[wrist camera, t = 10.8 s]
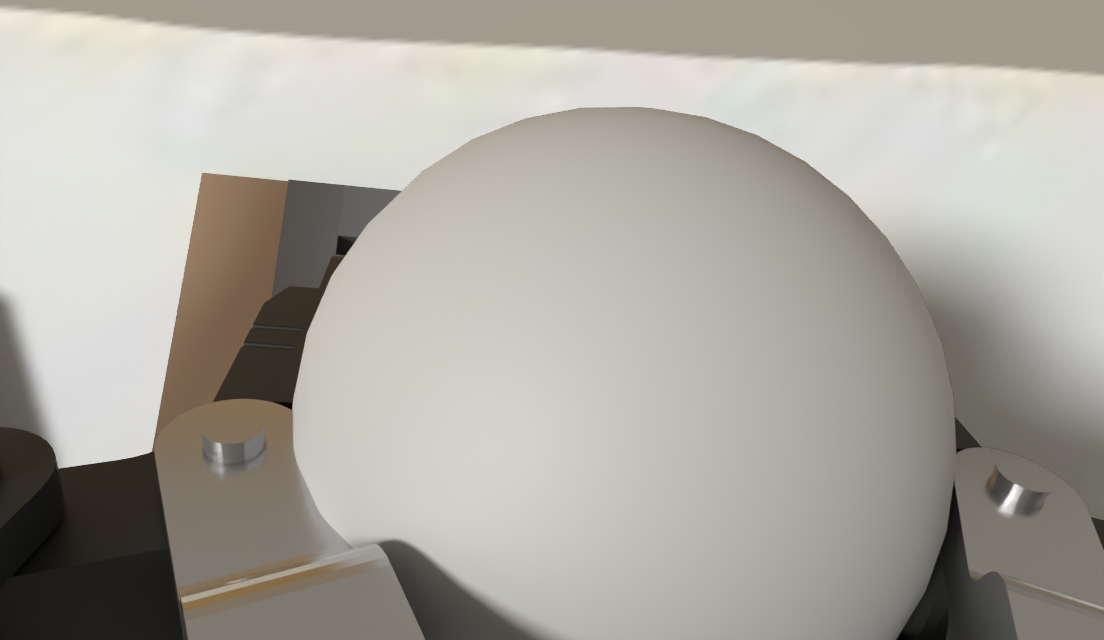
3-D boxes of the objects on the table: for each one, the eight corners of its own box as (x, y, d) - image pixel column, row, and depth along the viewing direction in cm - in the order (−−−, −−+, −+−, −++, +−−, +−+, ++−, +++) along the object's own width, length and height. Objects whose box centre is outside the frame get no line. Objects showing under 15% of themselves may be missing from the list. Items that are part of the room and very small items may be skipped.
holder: (815, 248, 22) (934, 156, 17) (846, 822, 18) (1013, 933, 13) (212, 190, 20) (136, 65, 15) (102, 822, 16) (-55, 954, 11)
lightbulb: (716, 622, 15) (1313, 755, 5) (392, 694, 14) (251, 1067, 4) (646, 318, 17) (980, -79, 6) (351, 363, 16) (168, -27, 5)
